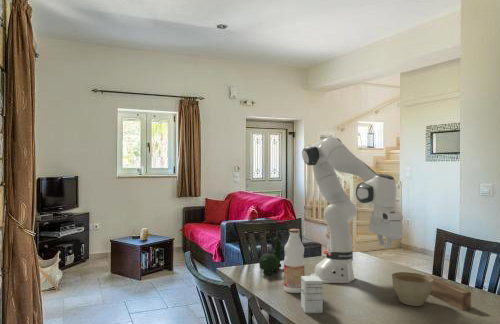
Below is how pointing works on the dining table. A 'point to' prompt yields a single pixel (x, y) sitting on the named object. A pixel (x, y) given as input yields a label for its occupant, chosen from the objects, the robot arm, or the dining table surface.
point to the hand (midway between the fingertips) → (384, 246)
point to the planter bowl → (412, 287)
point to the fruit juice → (293, 262)
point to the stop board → (451, 294)
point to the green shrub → (272, 259)
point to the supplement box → (311, 294)
